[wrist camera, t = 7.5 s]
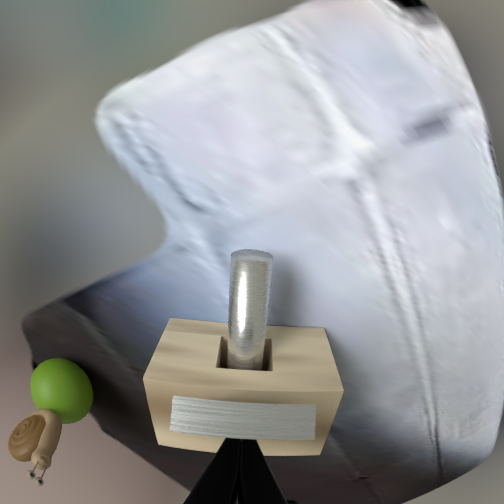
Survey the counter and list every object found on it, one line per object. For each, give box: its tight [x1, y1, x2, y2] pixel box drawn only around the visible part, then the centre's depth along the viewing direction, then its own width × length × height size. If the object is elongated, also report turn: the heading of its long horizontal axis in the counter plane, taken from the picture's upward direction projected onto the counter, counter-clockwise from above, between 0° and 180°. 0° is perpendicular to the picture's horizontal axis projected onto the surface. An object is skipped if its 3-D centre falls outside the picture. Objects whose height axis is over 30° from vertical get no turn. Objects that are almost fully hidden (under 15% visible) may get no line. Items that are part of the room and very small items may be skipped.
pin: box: [227, 249, 273, 371], centre depth 17 cm, size 13×4×4 cm, turn 176°
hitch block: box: [143, 318, 344, 456], centre depth 18 cm, size 6×10×6 cm, turn 86°
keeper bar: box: [170, 395, 316, 440], centre depth 10 cm, size 9×4×1 cm
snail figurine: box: [8, 358, 93, 486], centre depth 16 cm, size 5×6×12 cm
